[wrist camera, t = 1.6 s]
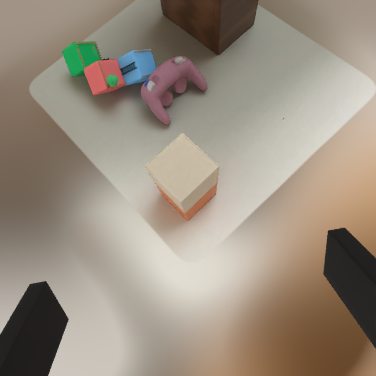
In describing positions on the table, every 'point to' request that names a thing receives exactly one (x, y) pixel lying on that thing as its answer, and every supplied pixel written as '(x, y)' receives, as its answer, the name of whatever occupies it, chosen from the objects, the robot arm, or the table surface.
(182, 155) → the cream and orange block
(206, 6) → the shelf
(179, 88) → the video game controller
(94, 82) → the building blocks
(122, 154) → the table surface
